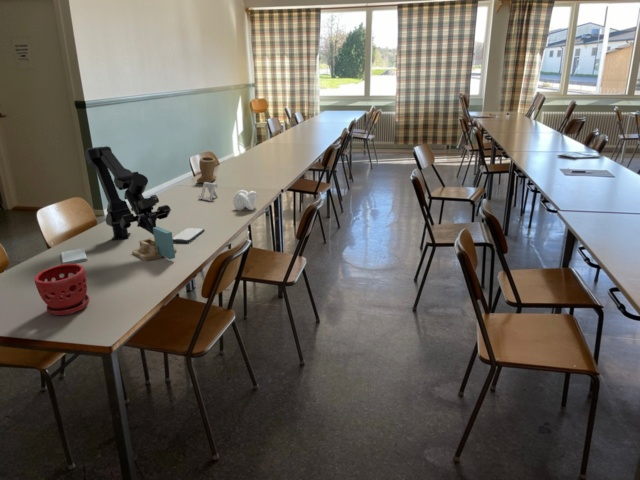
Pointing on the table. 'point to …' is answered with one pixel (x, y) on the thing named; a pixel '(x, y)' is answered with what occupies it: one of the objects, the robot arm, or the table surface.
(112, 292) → the table surface
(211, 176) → the stone cup
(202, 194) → the portable electronic device stand
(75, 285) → the plant pot
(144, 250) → the stand
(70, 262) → the hard drive
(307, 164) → the table surface
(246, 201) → the white knot sculpture
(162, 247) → the panel
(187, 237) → the smartphone
